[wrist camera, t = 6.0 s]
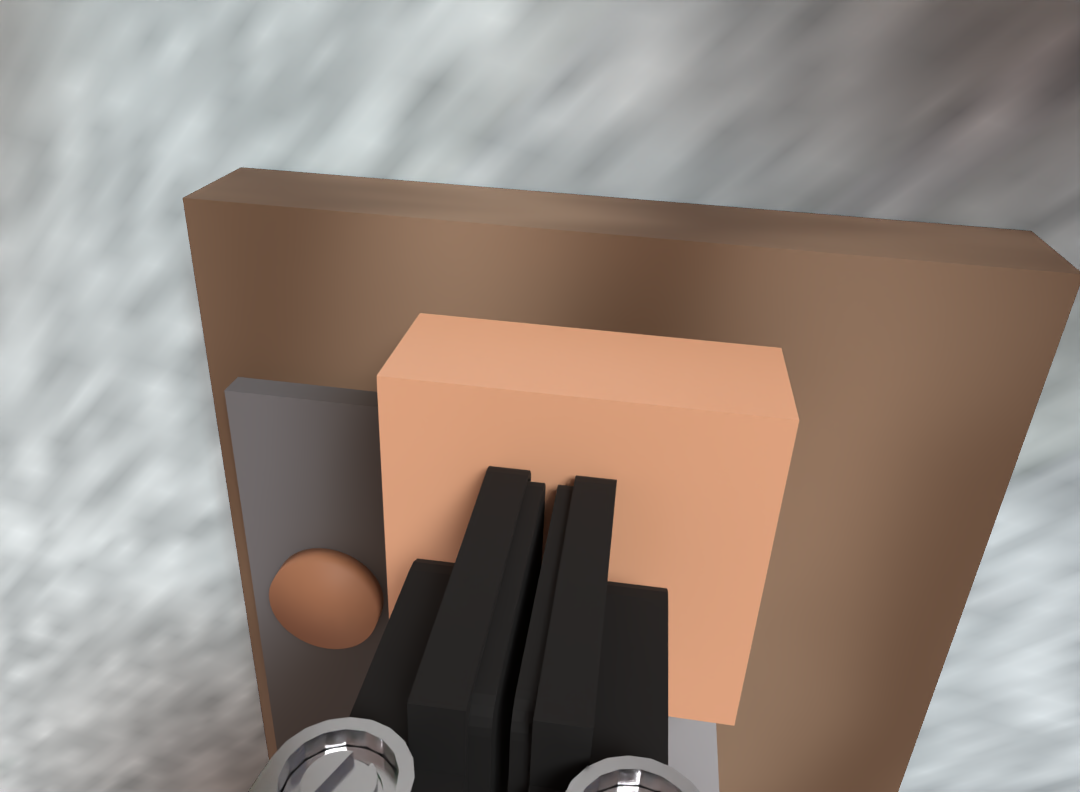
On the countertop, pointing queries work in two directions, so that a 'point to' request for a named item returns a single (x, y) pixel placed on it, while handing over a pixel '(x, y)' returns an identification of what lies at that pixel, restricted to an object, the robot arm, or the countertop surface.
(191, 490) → the countertop surface
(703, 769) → the grey key
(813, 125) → the countertop surface
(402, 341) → the terracotta key
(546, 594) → the robot arm
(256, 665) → the keypad board
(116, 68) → the countertop surface
